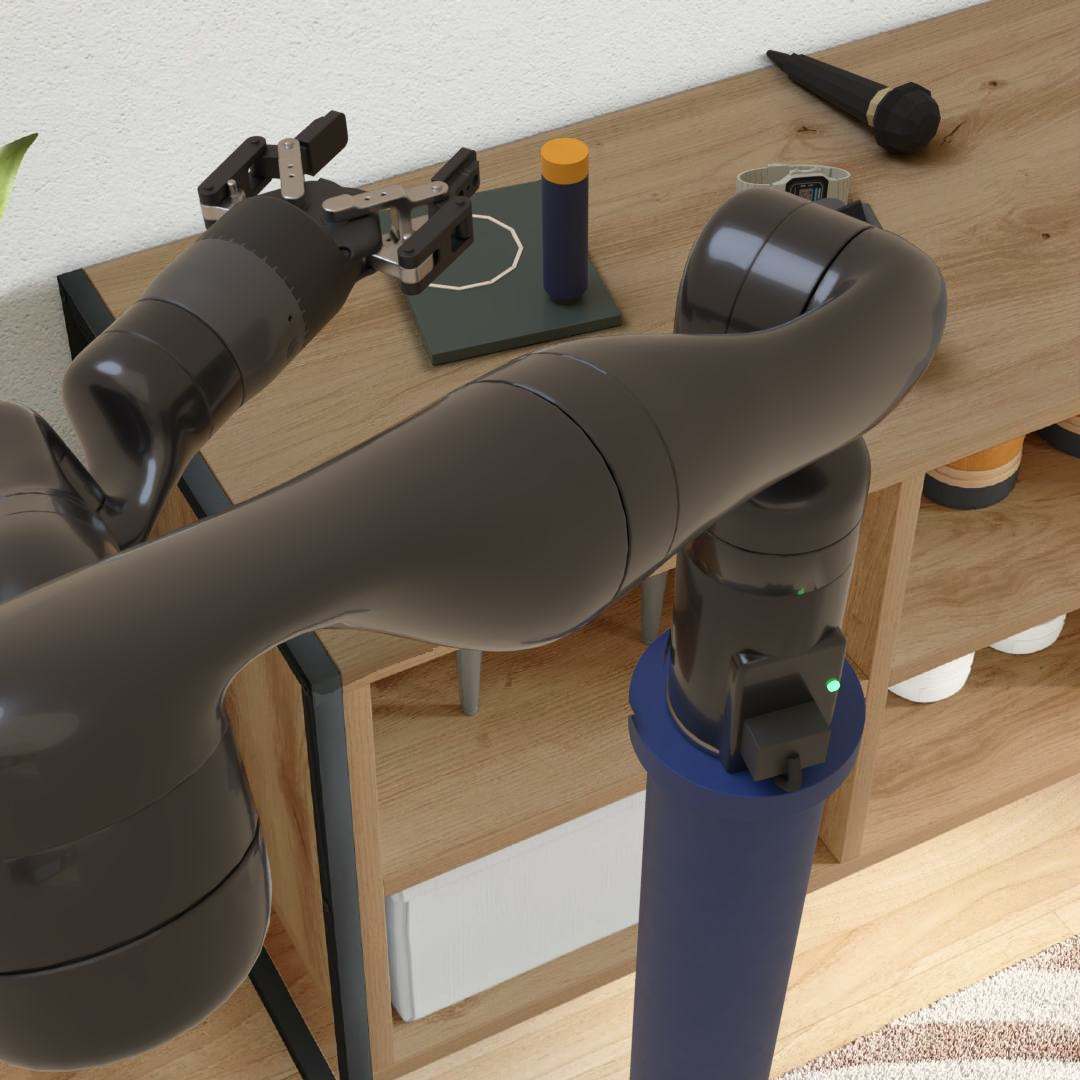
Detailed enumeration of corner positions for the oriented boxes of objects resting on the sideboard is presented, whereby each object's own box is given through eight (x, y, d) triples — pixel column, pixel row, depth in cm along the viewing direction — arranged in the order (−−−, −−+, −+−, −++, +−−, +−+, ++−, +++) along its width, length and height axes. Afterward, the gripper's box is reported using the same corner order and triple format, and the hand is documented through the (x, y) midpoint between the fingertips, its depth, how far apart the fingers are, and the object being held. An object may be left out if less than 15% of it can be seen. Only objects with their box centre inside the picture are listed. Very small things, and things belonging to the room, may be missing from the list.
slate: (621, 325, 113) (621, 313, 112) (432, 365, 110) (431, 353, 109) (545, 189, 125) (545, 177, 124) (373, 222, 122) (371, 211, 121)
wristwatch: (746, 243, 119) (751, 187, 116) (720, 197, 124) (724, 142, 120) (860, 225, 121) (868, 169, 117) (830, 180, 125) (837, 125, 121)
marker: (593, 303, 113) (595, 159, 104) (550, 312, 112) (548, 167, 104) (580, 277, 115) (580, 134, 106) (538, 285, 115) (535, 142, 106)
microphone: (753, 97, 139) (909, 178, 126) (736, 43, 135) (897, 121, 122) (799, 62, 140) (959, 138, 127) (784, 7, 136) (949, 80, 122)
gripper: (350, 285, 74) (514, 114, 83) (109, 207, 78) (290, 54, 88) (366, 404, 79) (519, 231, 89) (140, 324, 84) (308, 168, 94)
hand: (405, 143), depth 89 cm, fingers open, 8 cm apart
